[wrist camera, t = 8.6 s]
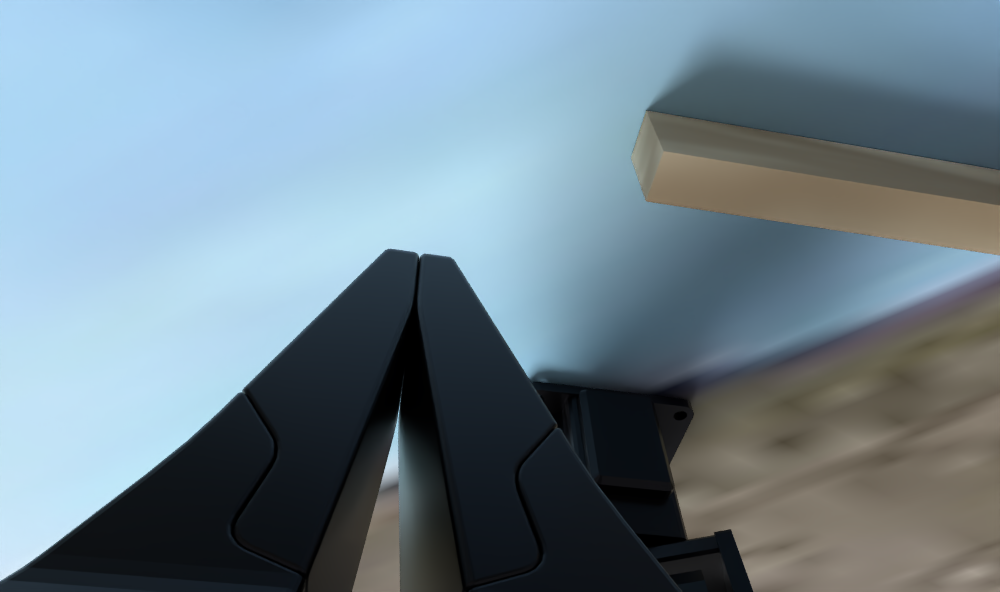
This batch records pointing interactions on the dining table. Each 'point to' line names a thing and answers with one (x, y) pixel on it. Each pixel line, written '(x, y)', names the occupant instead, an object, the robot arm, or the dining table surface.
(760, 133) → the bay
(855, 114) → the dining table surface
